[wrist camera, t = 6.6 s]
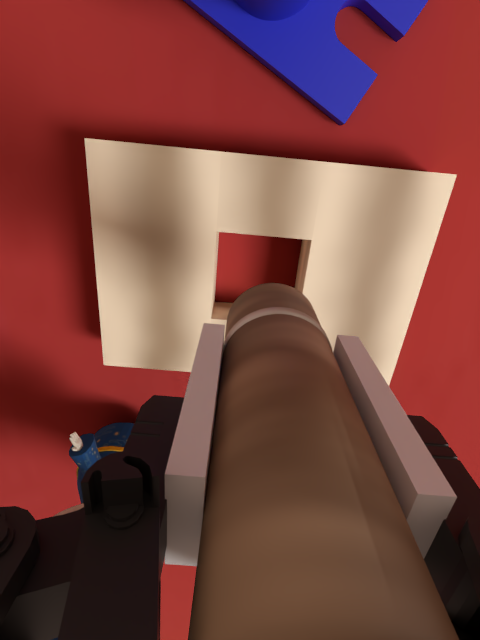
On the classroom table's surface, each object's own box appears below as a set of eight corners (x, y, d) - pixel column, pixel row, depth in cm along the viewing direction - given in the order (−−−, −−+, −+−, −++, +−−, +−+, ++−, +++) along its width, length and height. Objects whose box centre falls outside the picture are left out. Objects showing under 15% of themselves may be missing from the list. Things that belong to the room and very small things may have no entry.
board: (117, 344, 27) (103, 365, 24) (104, 140, 21) (84, 138, 18) (374, 364, 28) (388, 387, 25) (430, 172, 22) (456, 174, 19)
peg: (222, 360, 17) (176, 747, 6) (229, 277, 15) (181, 606, 4) (308, 367, 17) (424, 763, 6) (325, 286, 15) (533, 630, 4)
